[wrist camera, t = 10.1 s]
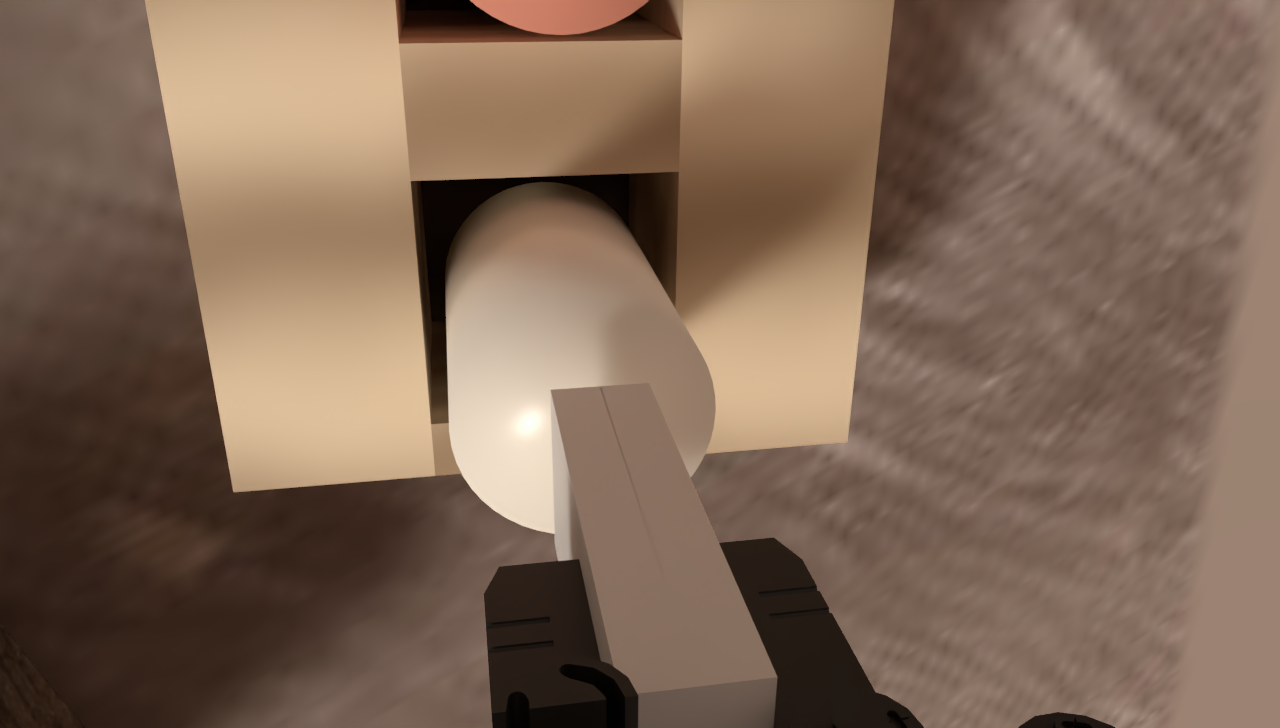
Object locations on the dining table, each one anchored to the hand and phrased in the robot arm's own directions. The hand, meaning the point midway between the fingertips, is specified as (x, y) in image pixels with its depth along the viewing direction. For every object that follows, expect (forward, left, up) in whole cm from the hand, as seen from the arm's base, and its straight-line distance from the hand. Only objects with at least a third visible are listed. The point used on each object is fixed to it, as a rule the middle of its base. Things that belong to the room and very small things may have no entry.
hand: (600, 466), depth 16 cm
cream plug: (0, 0, -8) cm, 8 cm away
